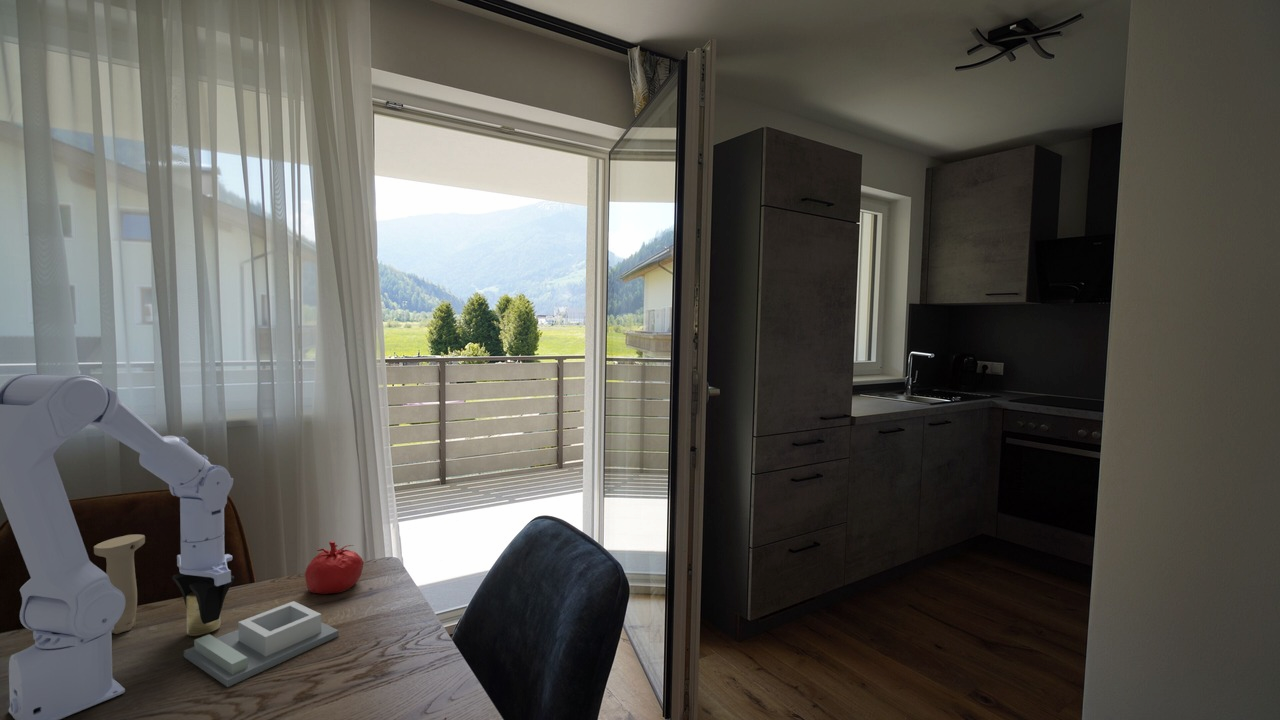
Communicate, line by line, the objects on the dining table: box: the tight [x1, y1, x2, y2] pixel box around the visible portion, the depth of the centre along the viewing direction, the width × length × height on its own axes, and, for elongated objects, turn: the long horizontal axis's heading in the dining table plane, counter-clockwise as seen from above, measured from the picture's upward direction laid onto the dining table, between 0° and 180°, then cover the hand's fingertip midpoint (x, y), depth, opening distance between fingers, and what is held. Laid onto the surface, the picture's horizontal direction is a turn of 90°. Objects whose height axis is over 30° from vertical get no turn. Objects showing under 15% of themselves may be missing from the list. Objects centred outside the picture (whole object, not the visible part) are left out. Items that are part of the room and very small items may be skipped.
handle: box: [93, 533, 146, 635], centre depth 93 cm, size 5×6×15 cm
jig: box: [183, 600, 339, 688], centre depth 89 cm, size 16×14×4 cm
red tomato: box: [304, 540, 364, 595], centre depth 110 cm, size 10×10×9 cm
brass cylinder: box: [186, 592, 221, 636], centre depth 93 cm, size 4×4×6 cm
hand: (203, 617), depth 93 cm, fingers closed on brass cylinder, 4 cm apart
